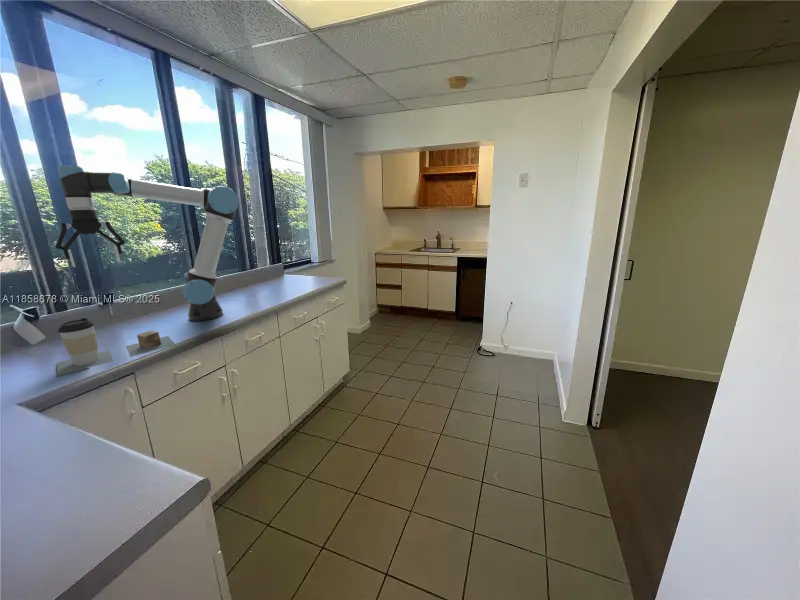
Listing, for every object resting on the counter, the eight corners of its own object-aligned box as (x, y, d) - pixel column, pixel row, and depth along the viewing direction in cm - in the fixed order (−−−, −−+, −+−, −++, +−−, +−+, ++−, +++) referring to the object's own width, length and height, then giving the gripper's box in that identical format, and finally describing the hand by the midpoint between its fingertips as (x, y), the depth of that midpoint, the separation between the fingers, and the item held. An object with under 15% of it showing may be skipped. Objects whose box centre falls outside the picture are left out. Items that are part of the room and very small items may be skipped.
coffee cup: (82, 367, 111) (69, 326, 107) (62, 366, 112) (48, 325, 109) (110, 356, 119) (99, 317, 115) (90, 354, 121) (79, 316, 117)
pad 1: (109, 351, 125) (109, 350, 125) (113, 362, 116) (112, 360, 115) (58, 363, 116) (57, 362, 116) (57, 376, 106) (56, 375, 106)
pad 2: (168, 337, 138) (167, 336, 138) (176, 346, 128) (175, 344, 128) (126, 347, 129) (125, 346, 128) (131, 357, 119) (130, 356, 119)
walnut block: (153, 342, 132) (150, 330, 130) (161, 343, 130) (158, 332, 128) (140, 346, 127) (136, 334, 126) (147, 348, 125) (144, 336, 124)
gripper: (122, 209, 136) (135, 259, 141) (35, 210, 119) (53, 267, 125) (125, 208, 131) (138, 261, 136) (33, 209, 114) (52, 269, 119)
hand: (97, 264), depth 130 cm, fingers open, 13 cm apart
